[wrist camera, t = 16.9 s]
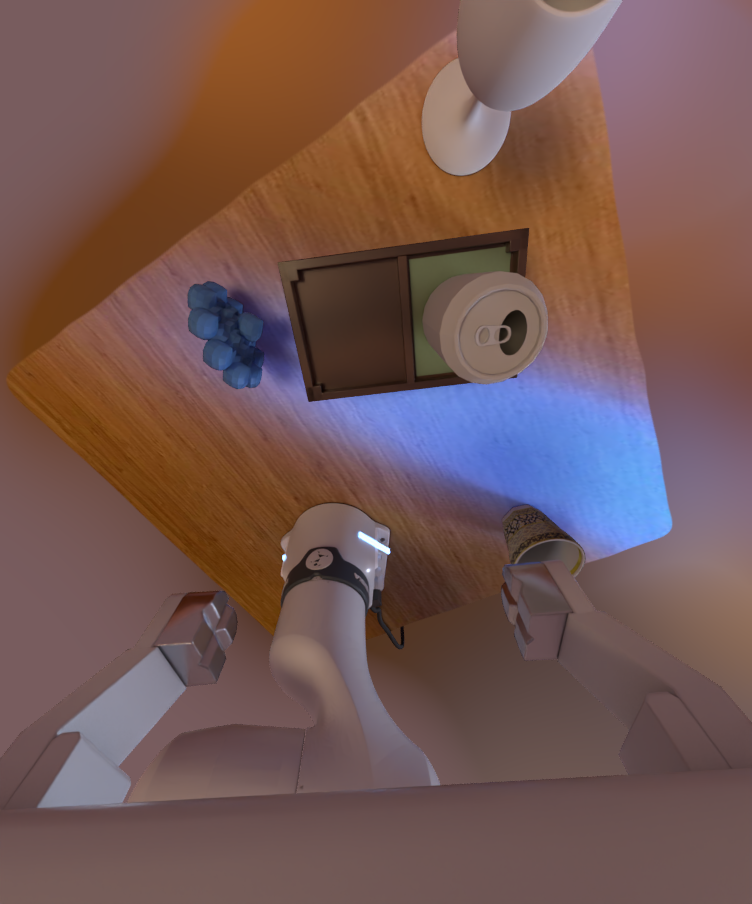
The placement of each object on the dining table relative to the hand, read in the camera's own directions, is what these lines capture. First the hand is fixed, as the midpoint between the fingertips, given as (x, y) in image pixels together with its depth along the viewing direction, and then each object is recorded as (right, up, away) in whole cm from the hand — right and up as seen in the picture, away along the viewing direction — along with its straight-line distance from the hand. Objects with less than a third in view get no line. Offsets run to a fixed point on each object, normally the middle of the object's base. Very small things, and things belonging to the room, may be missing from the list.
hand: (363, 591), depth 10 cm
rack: (+3, +21, +31) cm, 38 cm away
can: (+9, +17, +23) cm, 30 cm away
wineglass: (+9, +37, +23) cm, 44 cm away
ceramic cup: (+25, -9, +47) cm, 54 cm away
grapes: (-15, +20, +32) cm, 40 cm away
